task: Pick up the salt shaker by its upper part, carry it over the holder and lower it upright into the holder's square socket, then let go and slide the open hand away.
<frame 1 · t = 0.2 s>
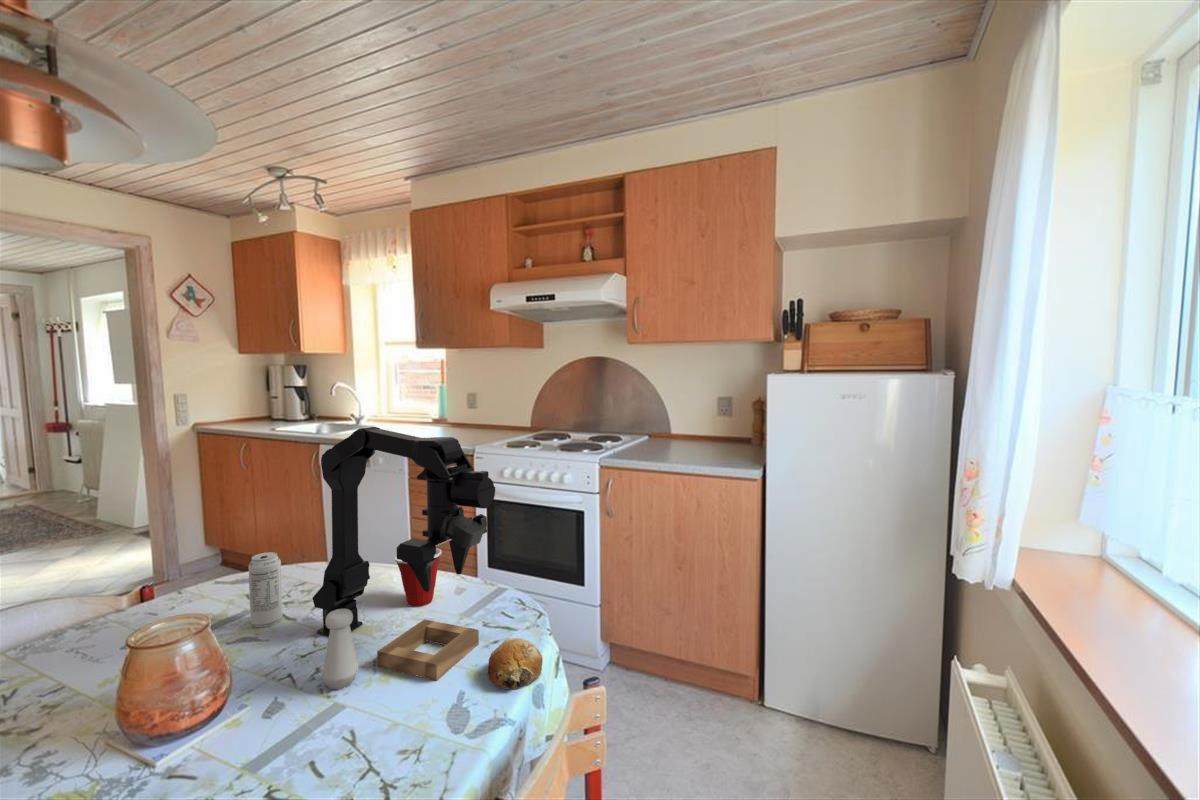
hand: (443, 582, 101), 14 cm above the table, tool pointing down, fingers open, 9 cm apart
plastic cup: (419, 602, 126), on the table
bread roll: (515, 676, 95), on the table
holder: (430, 654, 102), on the table
energy drink can: (267, 623, 116), on the table
salt shaker: (341, 684, 93), on the table
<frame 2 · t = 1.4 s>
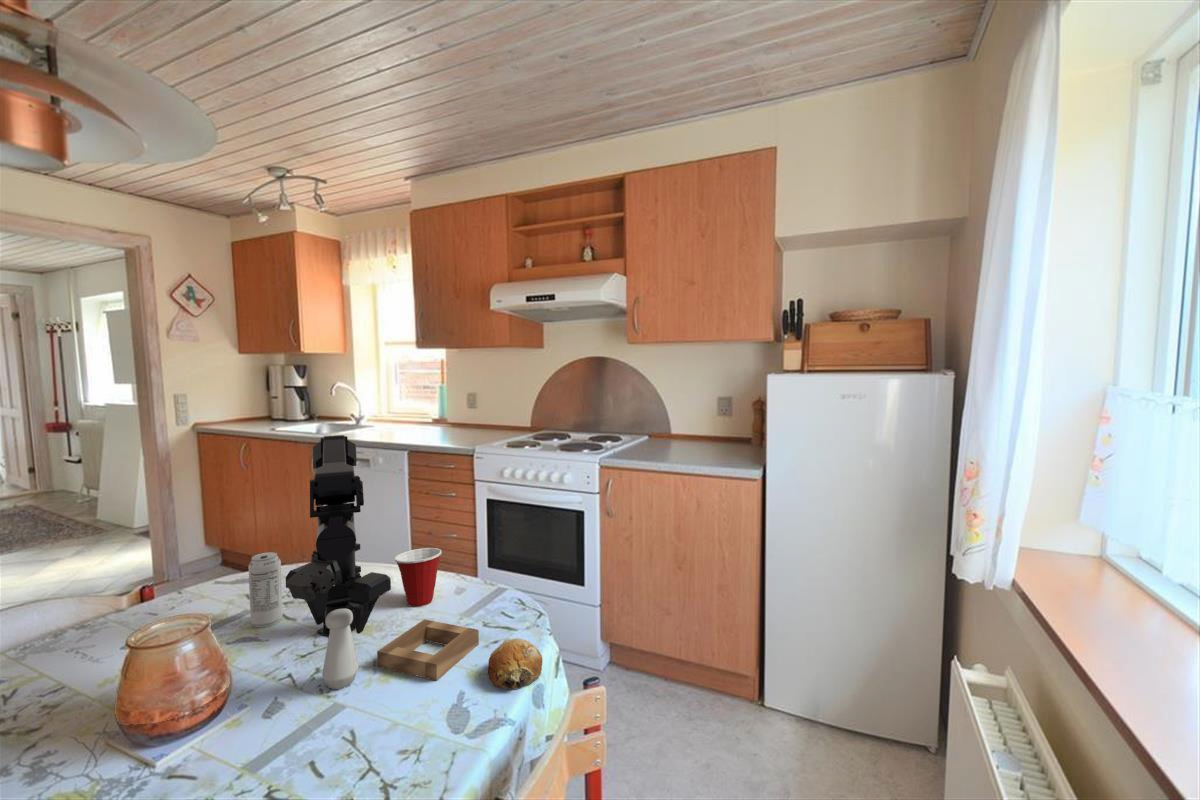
hand: (339, 628, 92), 10 cm above the table, tool pointing down, fingers open, 9 cm apart
nothing on the table moved.
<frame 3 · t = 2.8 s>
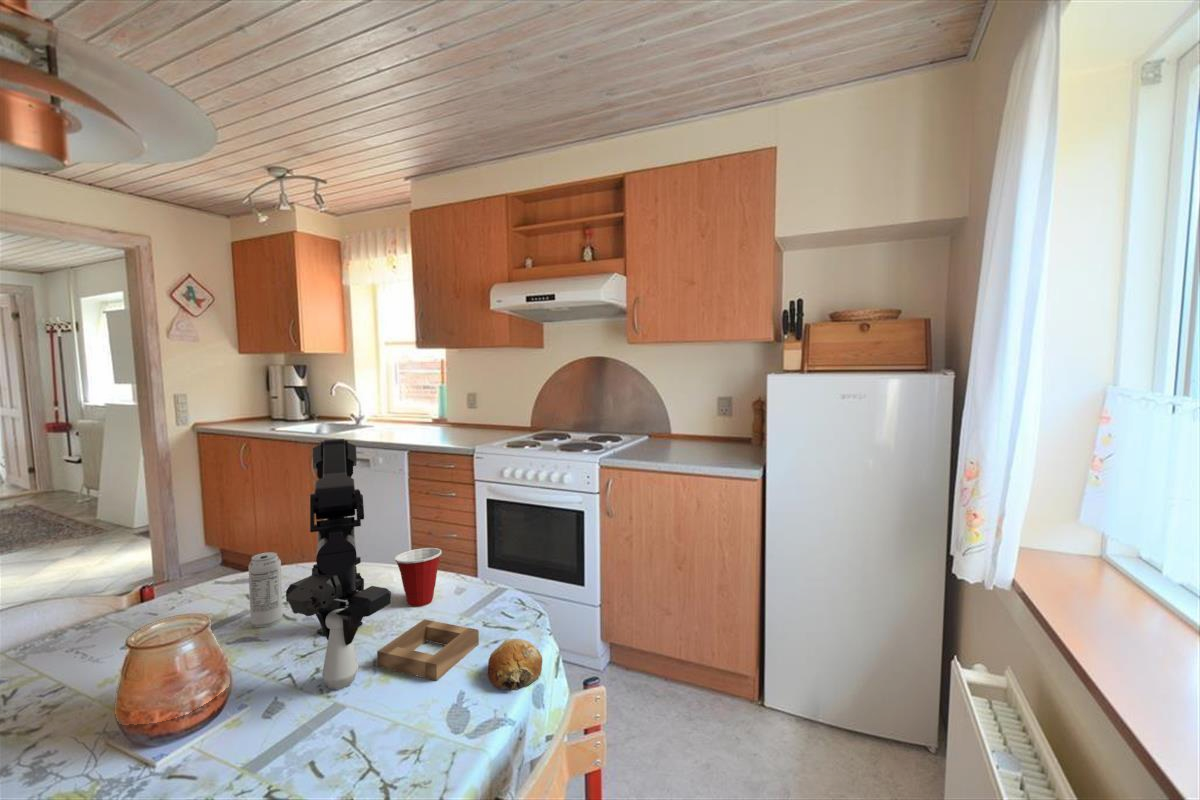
hand: (339, 641, 92), 8 cm above the table, tool pointing down, fingers closed on salt shaker, 4 cm apart
salt shaker: (341, 684, 93), on the table, touching gripper
everything else where it was.
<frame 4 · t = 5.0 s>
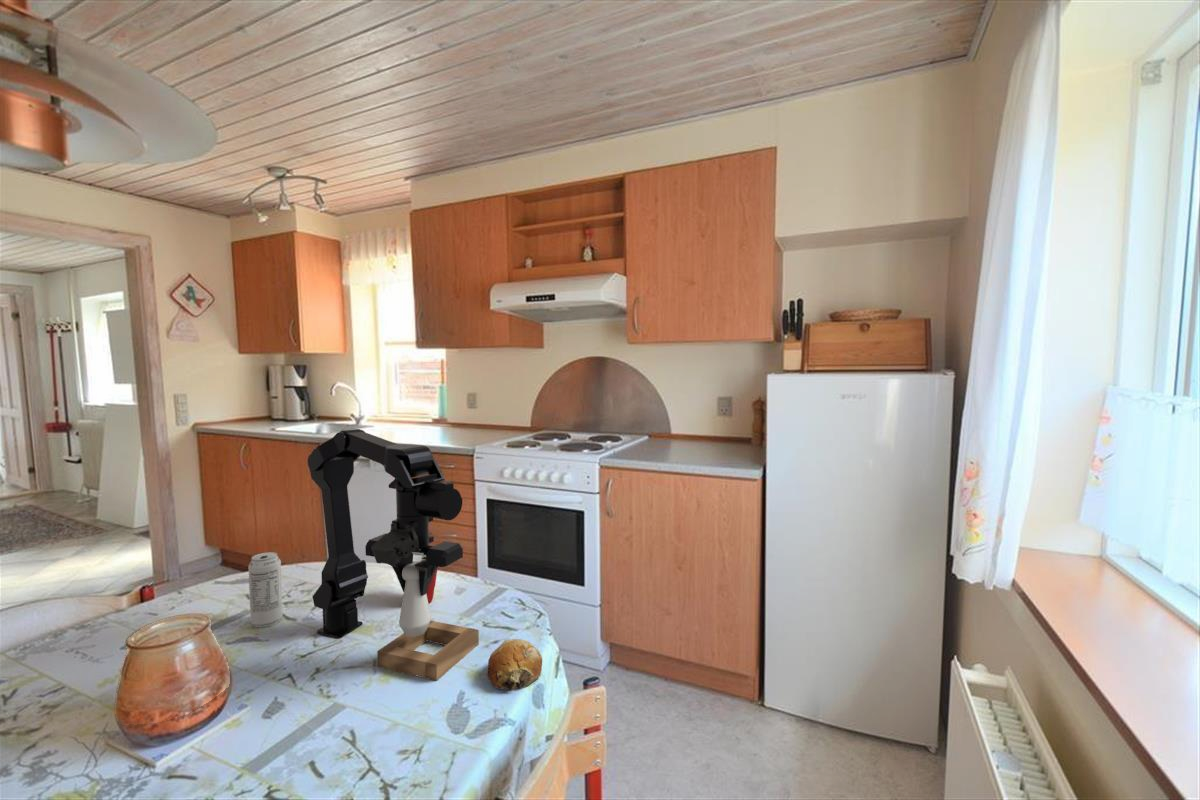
hand: (414, 593, 99), 13 cm above the table, tool pointing down, fingers closed on salt shaker, 4 cm apart
salt shaker: (415, 632, 100), point 5 cm above the table, touching gripper
everything else where it was.
when the fingers open (8 cm above the table, at t = 7.1 s): salt shaker stays where it is, resting in holder.
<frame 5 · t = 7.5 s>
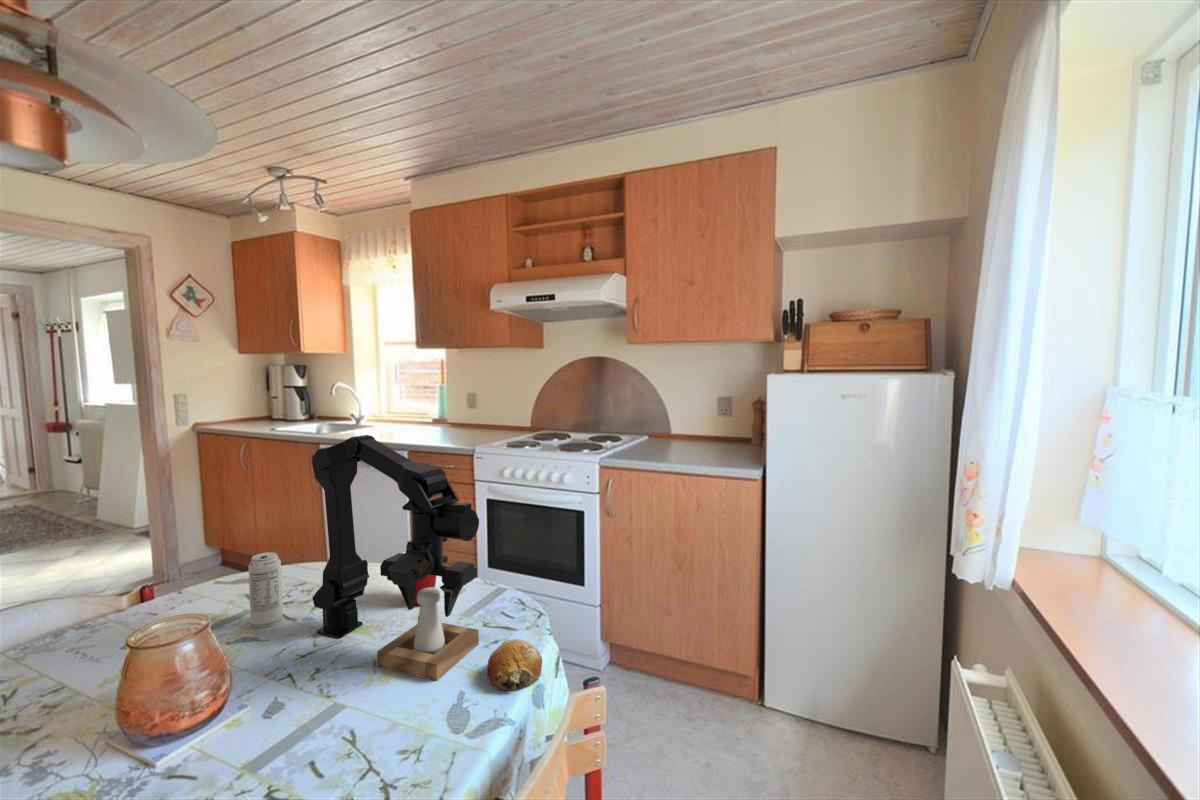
hand: (429, 612, 101), 8 cm above the table, tool pointing down, fingers open, 8 cm apart
salt shaker: (429, 656, 102), resting in holder
everything else where it was.
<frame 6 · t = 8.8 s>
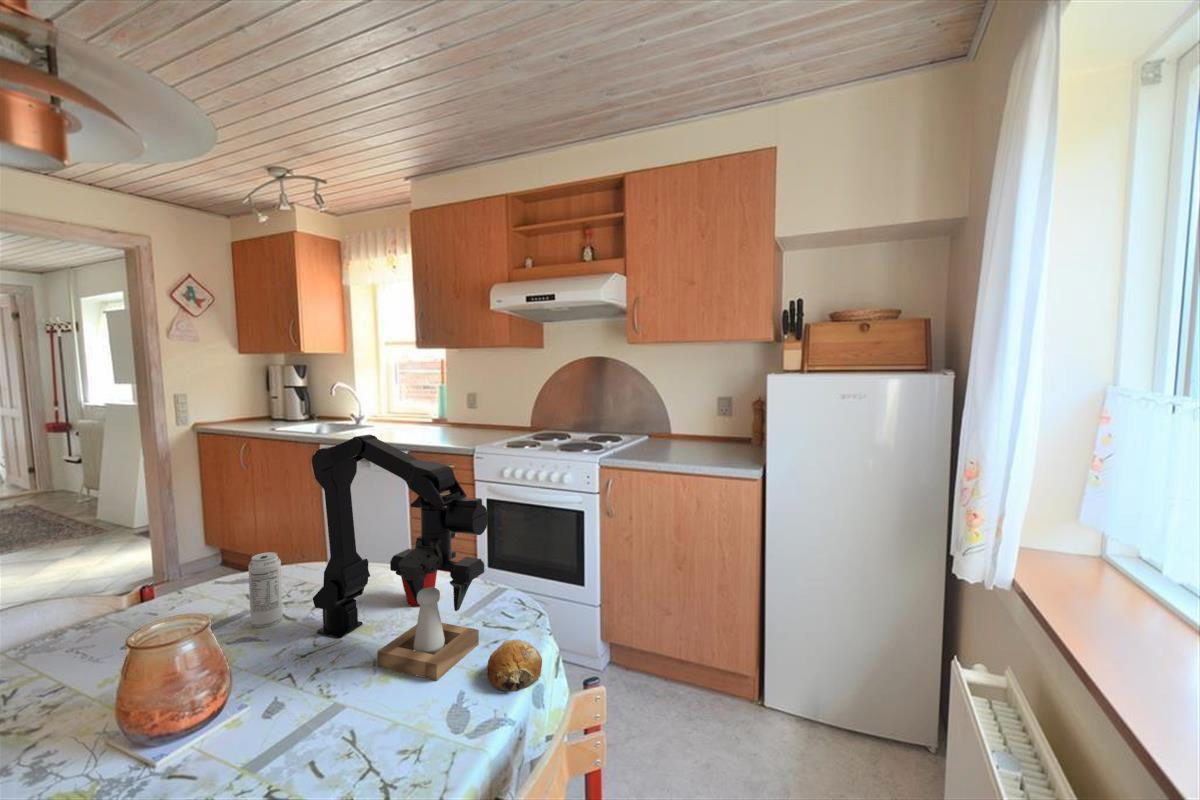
hand: (437, 606, 104), 8 cm above the table, tool pointing down, fingers open, 9 cm apart
nothing on the table moved.
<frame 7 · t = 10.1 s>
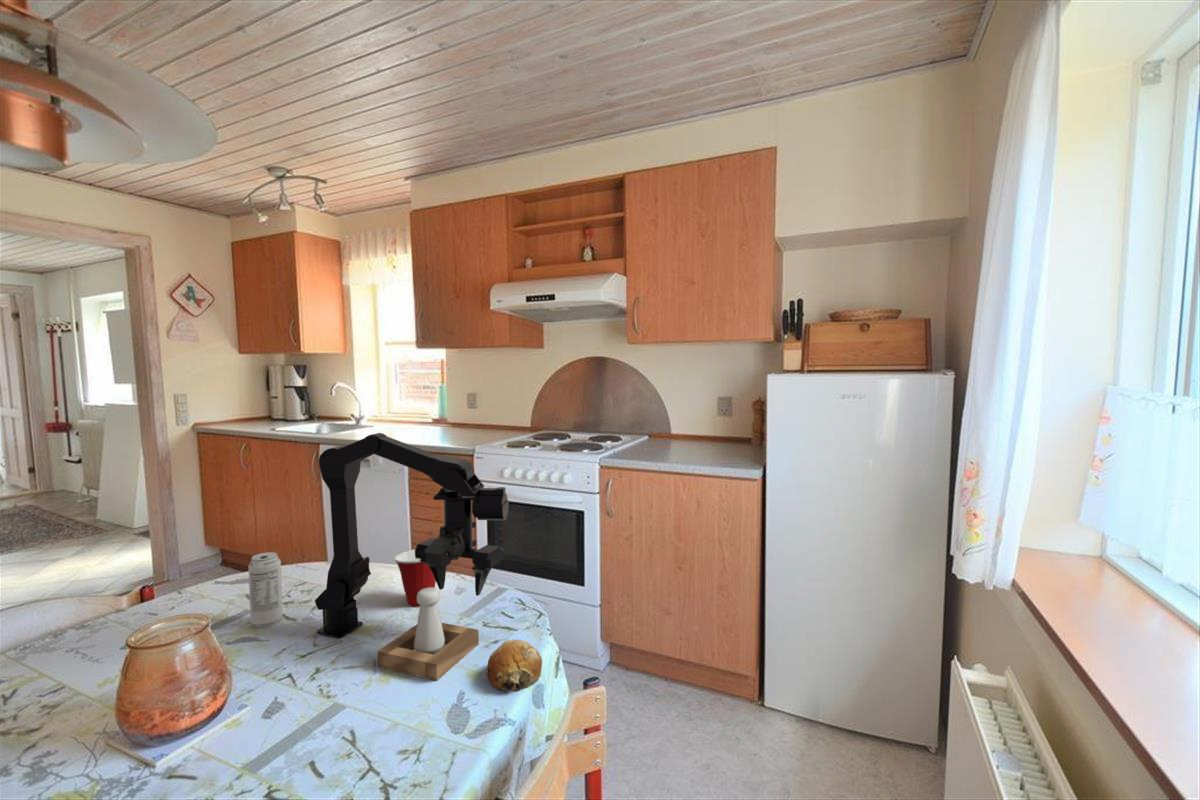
hand: (459, 591, 111), 9 cm above the table, tool pointing down, fingers open, 9 cm apart
nothing on the table moved.
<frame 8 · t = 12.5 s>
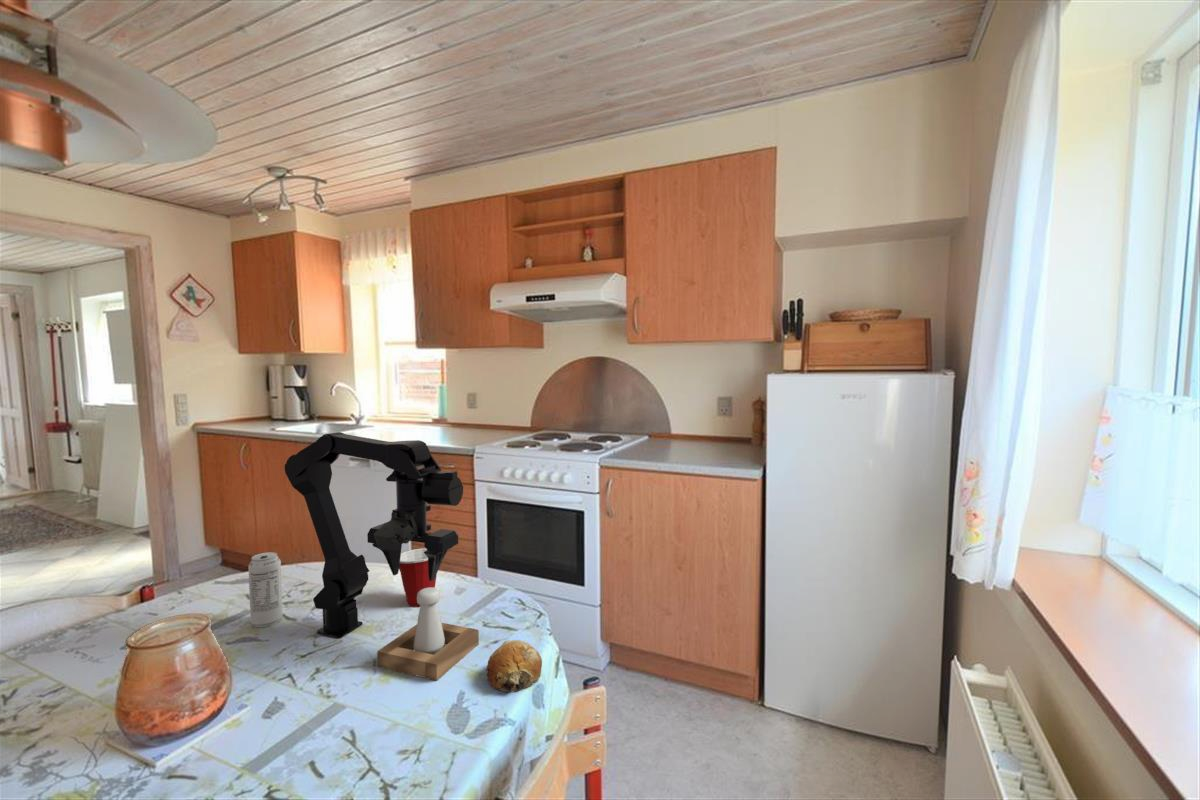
hand: (413, 577, 107), 13 cm above the table, tool pointing down, fingers open, 9 cm apart
nothing on the table moved.
at the end: salt shaker 0.1 cm off-centre on the holder, point 0.0 cm above the holder's base; salt shaker tilted 0°; the gripper is holding nothing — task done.
